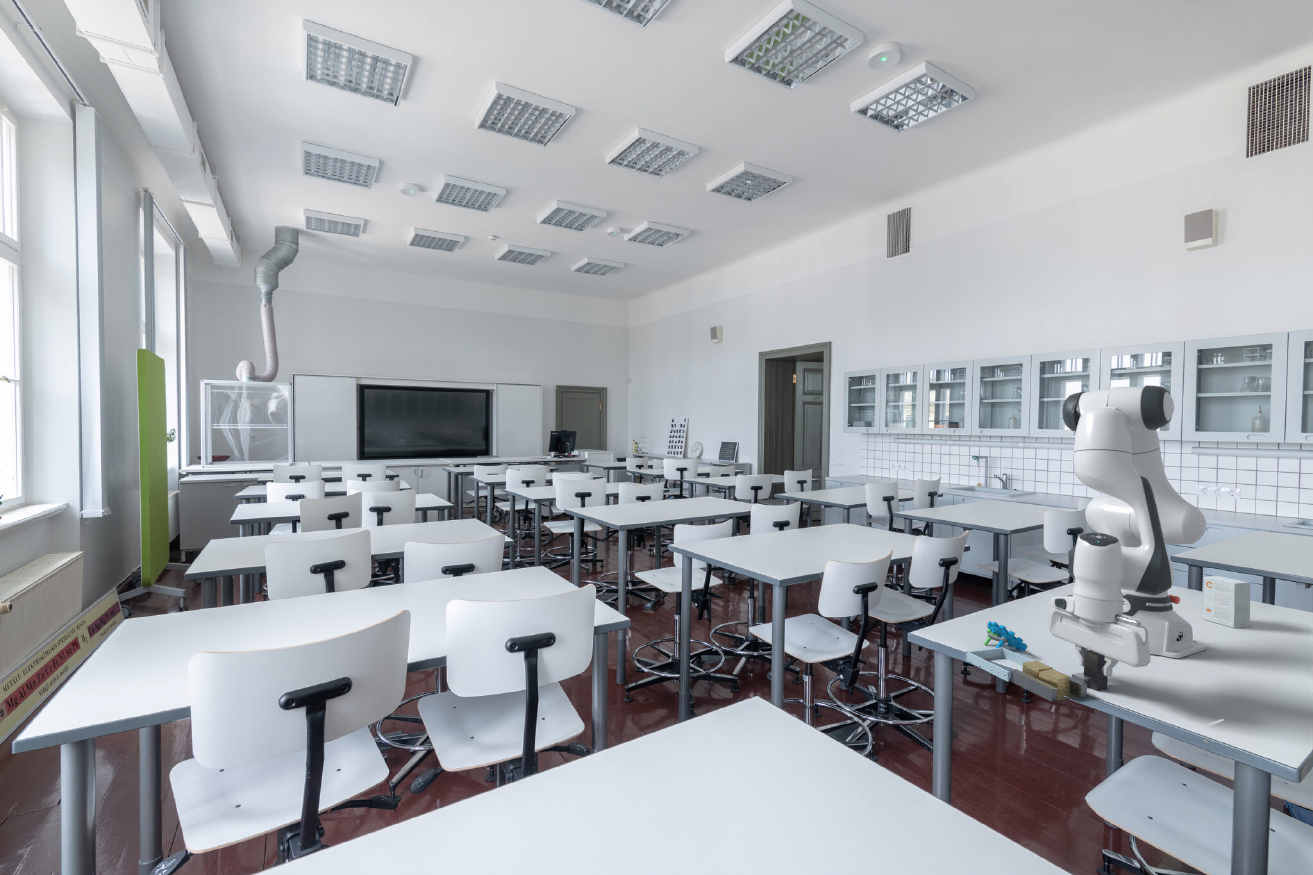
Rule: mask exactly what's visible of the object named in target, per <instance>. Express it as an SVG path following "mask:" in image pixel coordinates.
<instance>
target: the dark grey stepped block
mask: <svg viewBox="0 0 1313 875" xmlns="http://www.w3.org/2000/svg"><path fill="white" fill-rule="evenodd" d="M1106 663H1107V661H1105V656H1104V655H1102V654H1099V653H1097V652H1094V651H1091V650H1089V649H1088V650H1084V667H1083V671H1082V672H1077V673H1071V677H1072V678H1074V679H1076V680H1078V681H1081V682H1083V683H1085V684H1087V688H1090V689H1091V690H1094V691H1096V692H1099V691H1106V690H1108V688H1109V687H1108V686H1109V685H1108V684H1109V683H1108V681H1109V680H1108V678H1109V676H1108V677H1107V676H1105V675H1102V674H1100V666H1104V665H1105V664H1106Z"/></svg>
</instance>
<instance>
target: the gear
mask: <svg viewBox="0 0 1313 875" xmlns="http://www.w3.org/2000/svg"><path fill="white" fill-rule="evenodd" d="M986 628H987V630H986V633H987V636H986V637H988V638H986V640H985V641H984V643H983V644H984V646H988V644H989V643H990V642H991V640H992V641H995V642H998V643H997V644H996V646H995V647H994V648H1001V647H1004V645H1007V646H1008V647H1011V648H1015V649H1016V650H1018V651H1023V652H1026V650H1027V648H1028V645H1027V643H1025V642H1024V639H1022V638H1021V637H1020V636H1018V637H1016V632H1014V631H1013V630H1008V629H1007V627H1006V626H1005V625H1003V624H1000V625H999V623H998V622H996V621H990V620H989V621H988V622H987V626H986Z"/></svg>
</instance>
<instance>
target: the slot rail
mask: <svg viewBox="0 0 1313 875" xmlns="http://www.w3.org/2000/svg"><path fill="white" fill-rule="evenodd" d="M1053 670H1055V671H1057V670H1056V669H1054V668H1053ZM1010 682H1011V683H1013V684H1015V685H1017V686H1020V687H1022V688H1023V689H1026V690H1027V691H1029V692H1031V693H1033V694H1035V695H1037V696H1038V697H1041V698H1043V699H1045V700H1047V701H1049V702H1052V703H1053V702H1059V701H1065V700H1072V699H1080V698H1086V697H1087V693H1088V692H1087V691H1088V690H1087V689H1088V687H1087V684H1085V683H1083V682H1081V681H1078V680H1076V679H1074V678H1072V676H1070V695H1067V697H1064V696H1063V697H1059V698H1057V688H1055V687H1053V686H1051V685H1049V684H1047V683H1045V682H1043V681H1041V680H1038V679H1036V678H1034V677H1032V676H1030V675H1028V674H1026V673H1024V672H1023V670H1022V671H1021V670H1019V669H1017V668H1013V669H1010ZM1068 697H1069V698H1068Z"/></svg>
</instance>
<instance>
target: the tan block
mask: <svg viewBox="0 0 1313 875" xmlns="http://www.w3.org/2000/svg"><path fill="white" fill-rule="evenodd" d="M1049 669H1054V667H1052V666H1049V665H1047V664H1045V663H1042V662H1040V661H1038V660H1032V661H1031V662H1023V666H1022V672H1024V673H1026V674H1028V675H1030V676H1032V677H1034V678H1036V679H1038V680H1039V672H1040V671H1044V670H1049Z"/></svg>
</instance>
